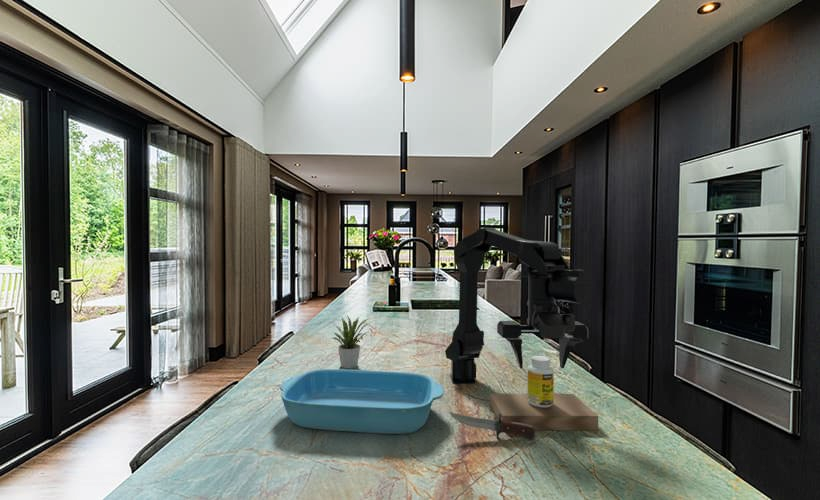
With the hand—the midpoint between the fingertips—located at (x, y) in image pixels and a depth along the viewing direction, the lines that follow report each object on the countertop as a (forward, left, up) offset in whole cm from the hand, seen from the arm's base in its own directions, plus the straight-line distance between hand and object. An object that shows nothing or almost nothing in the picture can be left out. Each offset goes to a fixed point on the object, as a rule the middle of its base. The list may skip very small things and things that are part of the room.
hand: (541, 367), depth 85 cm
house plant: (-47, +36, -11) cm, 60 cm away
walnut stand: (0, 0, -11) cm, 11 cm away
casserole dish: (-40, +1, -12) cm, 42 cm away
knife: (-13, -9, -11) cm, 19 cm away
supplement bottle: (0, 0, -8) cm, 8 cm away
